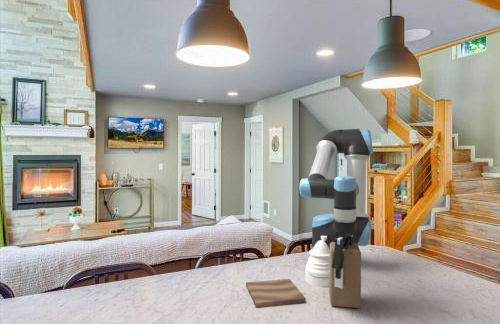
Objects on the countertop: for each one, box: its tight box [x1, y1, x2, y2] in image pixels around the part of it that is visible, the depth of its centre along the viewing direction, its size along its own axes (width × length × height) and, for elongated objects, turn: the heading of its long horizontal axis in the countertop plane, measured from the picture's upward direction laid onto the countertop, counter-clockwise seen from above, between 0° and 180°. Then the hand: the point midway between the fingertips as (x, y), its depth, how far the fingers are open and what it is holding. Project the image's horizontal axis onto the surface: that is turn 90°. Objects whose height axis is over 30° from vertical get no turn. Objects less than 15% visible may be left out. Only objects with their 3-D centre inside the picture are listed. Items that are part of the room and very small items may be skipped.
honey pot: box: [304, 236, 330, 288], centre depth 133 cm, size 13×13×18 cm
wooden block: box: [328, 242, 362, 309], centre depth 114 cm, size 10×10×20 cm
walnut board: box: [245, 278, 307, 308], centre depth 121 cm, size 18×18×2 cm
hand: (344, 281), depth 114 cm, fingers closed on wooden block, 12 cm apart
